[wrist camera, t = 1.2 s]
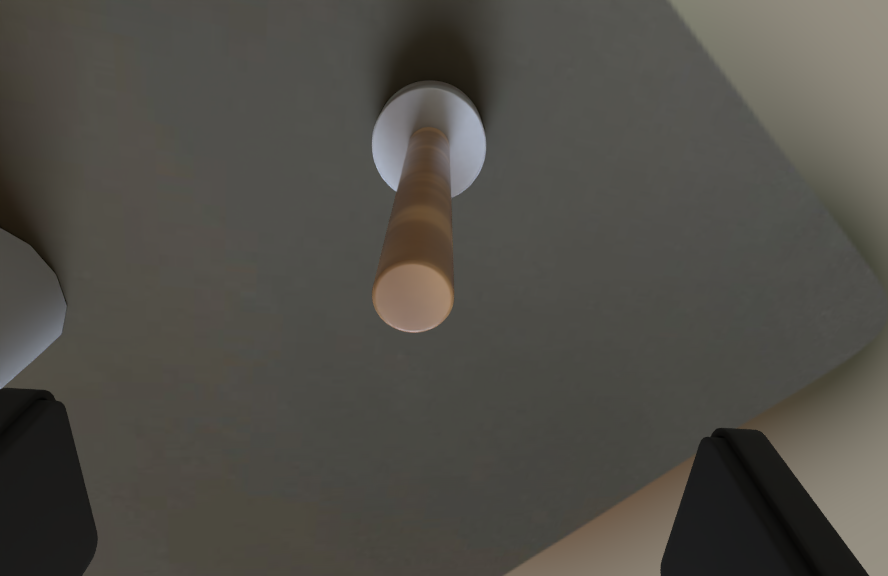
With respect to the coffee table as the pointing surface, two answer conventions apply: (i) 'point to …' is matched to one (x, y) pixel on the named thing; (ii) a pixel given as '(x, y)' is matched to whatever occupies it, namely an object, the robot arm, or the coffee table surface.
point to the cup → (26, 306)
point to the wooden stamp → (423, 198)
